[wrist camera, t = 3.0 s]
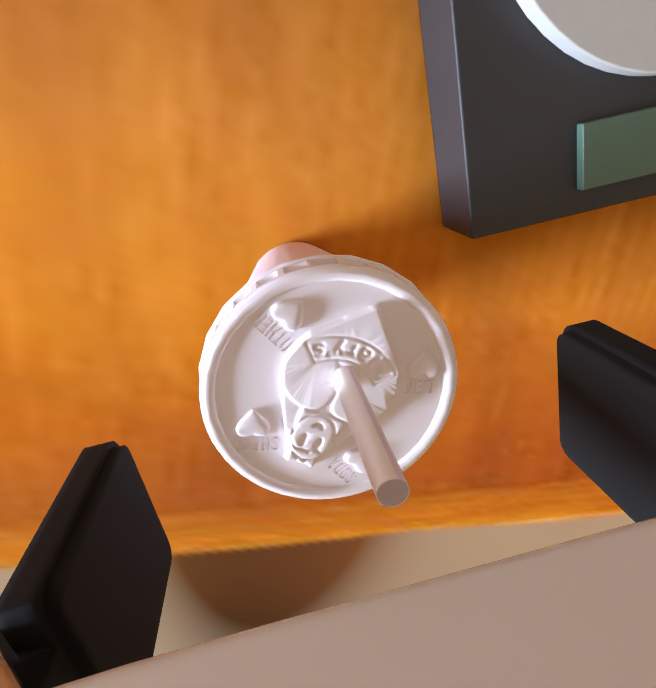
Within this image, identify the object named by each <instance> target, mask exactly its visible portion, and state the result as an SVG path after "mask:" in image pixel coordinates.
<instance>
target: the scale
mask: <svg viewBox="0 0 656 688" xmlns="http://www.w3.org/2000/svg"><path fill="white" fill-rule="evenodd" d="M418 3H419V12H420V21H421V30H422V39H423V48H424V57H425V66H426V75H427V84H428V93H429V102H430V111H431V120H432V129H433V138H434V147H435V156H436V165H437V174H438V183H439V192H440V201H441V210H442V219H443V225H444V227H447V228H449V229H451V230H453V231H456V232H458V233H460V234H463V235H465V236H467V237H470V238H472V239H475V238H480V237H484V236H488V235H492V234H496V233H500V232H504V231H508V230H513V229H517V228H521V227H525V226H529V225H533V224H537V223H541V222H545V221H550V220H554V219H558V218H562V217H566V216H570V215H574V214H578V213H583V212H587V211H591V210H595V209H599V208H603V207H607V206H611V205H615V204H620V203H624V202H628V201H632V200H636V199H640V198H644V197H648V196H653V195H656V0H418Z"/></svg>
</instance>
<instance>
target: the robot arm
mask: <svg viewBox="0 0 656 688" xmlns="http://www.w3.org/2000/svg"><path fill="white" fill-rule="evenodd" d="M557 359H558V390H559V420H560V441H561V445H562V448H563V450H564V452H565V453H566V455H567V456H568V457H569V458H570V459H571V460H572V461H573V462H574V463H575V464H576V465H577V466H578V467H579V468H580V469H581V470H582V471H583V472H584V473H585V474H586V475H587V476H588V477H589V478H590V479H592V480H593V481H594V482H595V483H596V484H597V485H598V486H599V487H600V488H601V489H602V490H603V491H604V492H605V493H606V494H607V495H608V496H609V497H610V498H611V499H612V500H613V501H614V502H615V503H616V504H617V505H618V506H619V507H620V508H621V509H622V510H623V511H624V512H625V513H626V514H627V515H628V516H629V517H630V518H632V519H633V520H634V521H635V522H636V523H633V524H629V525H626V526H622V527H618V528H615V529H611V530H607V531H604V532H600V533H596V534H592V535H589V536H585V537H582V538H578V539H575V540H571V541H567V542H563V543H560V544H557V545H553V546H549V547H545V548H542V549H538V550H535V551H531V552H527V553H524V554H520V555H516V556H513V557H509V558H506V559H502V560H498V561H495V562H491V563H488V564H484V565H480V566H477V567H473V568H470V569H466V570H462V571H459V572H455V573H451V574H448V575H444V576H441V577H437V578H433V579H430V580H426V581H423V582H419V583H415V584H412V585H408V586H404V587H401V588H397V589H394V590H390V591H387V592H383V593H379V594H375V595H372V596H368V597H365V598H361V599H357V600H354V601H350V602H346V603H343V604H339V605H336V606H332V607H328V608H325V609H321V610H318V611H314V612H310V613H307V614H303V615H300V616H296V617H292V618H288V619H285V620H282V621H278V622H275V623H271V624H268V625H264V626H260V627H257V628H253V629H250V630H246V631H242V632H239V633H236V634H232V635H228V636H225V637H221V638H218V639H214V640H211V641H207V642H204V643H200V644H196V645H193V646H189V647H186V648H182V649H179V650H175V651H172V652H168V653H164V654H161V655H158V656H154V657H153V653H154V648H155V643H156V638H157V633H158V627H159V622H160V617H161V612H162V607H163V602H164V597H165V591H166V586H167V581H168V576H169V571H170V566H171V559H172V554H171V548H170V544H169V541H168V539H167V537H166V534H165V532H164V530H163V527H162V525H161V523H160V520H159V518H158V516H157V513H156V511H155V509H154V506H153V504H152V502H151V499H150V497H149V495H148V492H147V490H146V488H145V485H144V483H143V481H142V478H141V476H140V474H139V471H138V469H137V467H136V464H135V462H134V460H133V457H132V455H131V453H130V451H129V449H128V448H127V446H125V445H123V446H119V445H118V444H117V443H116V442H114V441H111V442H107V443H103V444H99V445H95V446H91V447H87V448H84V449H83V450H82V452H81V454H80V455H79V457H78V459H77V461H76V463H75V464H74V466H73V468H72V470H71V471H70V473H69V475H68V477H67V479H66V480H65V482H64V484H63V486H62V487H61V489H60V491H59V493H58V495H57V496H56V498H55V500H54V502H53V503H52V505H51V507H50V509H49V511H48V512H47V514H46V516H45V518H44V519H43V521H42V523H41V525H40V527H39V528H38V530H37V532H36V534H35V535H34V537H33V539H32V541H31V543H30V544H29V546H28V548H27V550H26V551H25V553H24V555H23V557H22V559H21V560H20V562H19V564H18V566H17V567H16V569H15V571H14V573H13V575H12V576H11V578H10V580H9V582H8V584H7V585H6V587H5V589H4V591H3V593H2V594H1V596H0V688H656V350H655V349H653V348H651V347H649V346H647V345H645V344H643V343H641V342H639V341H637V340H635V339H633V338H631V337H629V336H627V335H625V334H623V333H621V332H619V331H617V330H615V329H613V328H611V327H609V326H607V325H605V324H603V323H601V322H599V321H597V320H590V321H586V322H582V323H578V324H574V325H570V326H567V327H566V328H565V329H564V332H563V334H562V335H559V337H558V339H557Z"/></svg>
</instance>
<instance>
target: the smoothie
mask: <svg viewBox="0 0 656 688" xmlns="http://www.w3.org/2000/svg"><path fill="white" fill-rule="evenodd" d="M199 377H200V382H199V400H200V409H201V413H202V418H203V421H204V424H205V427H206V430H207V432H208V434H209V436H210V438H211V440H212V442H213V444H214V445H215V447H216V448H217V450H218V451H219V453H220V454H221V455H222V456H223V458H224V459H225V460H226V461H227V462H228V463H229V464H230V465H231V466H232V467H233V468H234V469H235V470H236V471H238V472H239V473H240V474H241V475H243V476H244V477H246V478H247V479H249V480H250V481H252V482H254V483H255V484H257V485H259V486H261V487H263V488H266V489H268V490H270V491H273V492H276V493H279V494H283V495H287V496H291V497H297V498H304V499H331V498H340V497H345V496H350V495H354V494H358V493H361V492H364V491H367V490H370V489H373V491H374V494H375V497H376V499H377V501H378V503H379V504H381V505H382V506H385V507H395V506H398V505H400V504H402V503H403V502H404V501H406V499H407V498H408V496H409V493H410V488H409V485H408V483H407V481H406V479H405V476H404V474H403V472H404V471H405V470H406V469H407V468H409V467H410V466H411V465H412V464H414V463H415V462H416V461H417V460H418V459H419V458H420V457H421V456H422V455H423V454H424V453H425V452H426V451H427V450H428V448H429V447H430V446H431V445H432V443H433V442H434V441H435V439H436V438H437V436H438V435H439V433H440V432H441V430H442V428H443V426H444V424H445V423H446V421H447V418H448V416H449V413H450V411H451V408H452V405H453V402H454V398H455V393H456V387H457V358H456V352H455V348H454V344H453V341H452V338H451V335H450V333H449V330H448V328H447V326H446V324H445V322H444V321H443V319H442V317H441V316H440V314H439V313H438V311H437V310H436V309H435V308H434V306H433V305H432V304H431V303H430V302H429V301H428V300H427V299H426V298H425V296H424V295H423V294H422V293H421V292H420V291H419V290H418V288H417V287H416V286H415V285H414V284H413V283H412V282H411V281H410V280H408V279H406V278H405V277H403V276H402V275H400V274H398V273H397V272H395V271H394V270H392V269H391V268H389V267H387V266H386V265H384V264H381V263H377V262H374V261H370V260H367V259H363V258H360V257H356V256H353V255H333V254H331V253H329V252H326V251H324V250H322V249H320V248H318V247H316V246H314V245H311V244H308V243H303V242H289V243H284V244H281V245H279V246H276V247H274V248H273V249H271V250H270V251H268V252H267V253H266V254H265V255H264V256H263V257H262V258H261V259H260V260H259V262H258V263H257V265H256V267H255V269H254V271H253V273H252V275H251V277H250V279H249V281H248V282H247V283H246V284H245V285H244V286H243V287H242V288H241V289H240V290H239V291H238V292H237V293H236V294H235V295H234V296H233V297H232V298H231V299H230V300H229V301H228V302H227V303H226V304H225V305H224V306H223V308H222V309H221V311H220V313H219V315H218V316H217V318H216V320H215V321H214V323H213V325H212V327H211V328H210V330H209V332H208V333H207V335H206V339H205V344H204V348H203V352H202V356H201V360H200V364H199Z"/></svg>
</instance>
